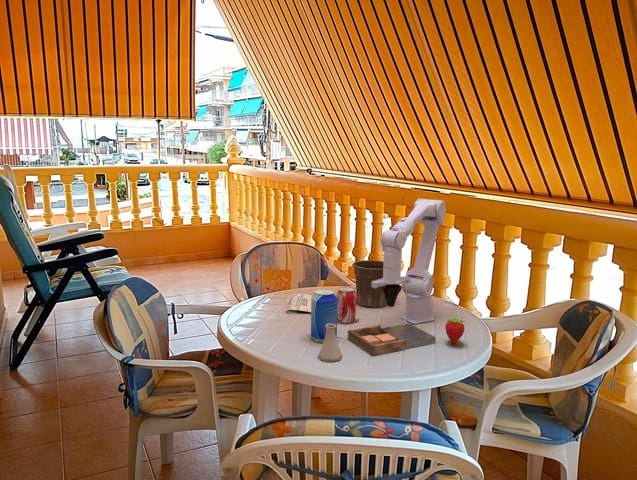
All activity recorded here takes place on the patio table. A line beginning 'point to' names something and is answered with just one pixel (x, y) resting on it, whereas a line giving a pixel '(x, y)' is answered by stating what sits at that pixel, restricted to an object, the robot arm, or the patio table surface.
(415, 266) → the robot arm
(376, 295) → the plant pot
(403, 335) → the grey plate
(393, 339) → the tile
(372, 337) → the tile
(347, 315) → the soda can
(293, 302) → the newspaper
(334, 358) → the flask
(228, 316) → the patio table surface
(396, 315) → the patio table surface
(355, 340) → the box
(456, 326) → the strawberry
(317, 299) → the beer can
